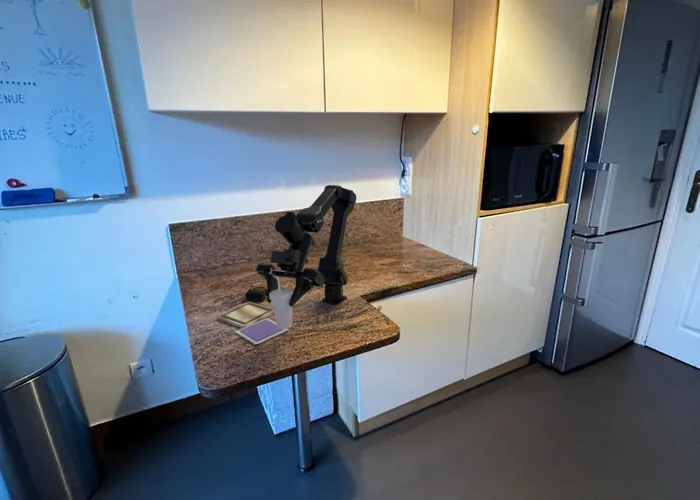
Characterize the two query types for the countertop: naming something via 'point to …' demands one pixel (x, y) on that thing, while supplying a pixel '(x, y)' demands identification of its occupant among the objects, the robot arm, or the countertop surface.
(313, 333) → the countertop surface
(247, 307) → the board
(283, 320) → the smoothie
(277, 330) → the ink pad
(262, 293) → the tape measure
